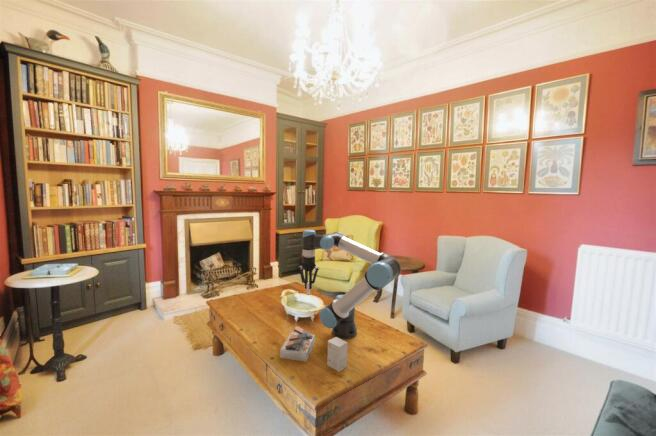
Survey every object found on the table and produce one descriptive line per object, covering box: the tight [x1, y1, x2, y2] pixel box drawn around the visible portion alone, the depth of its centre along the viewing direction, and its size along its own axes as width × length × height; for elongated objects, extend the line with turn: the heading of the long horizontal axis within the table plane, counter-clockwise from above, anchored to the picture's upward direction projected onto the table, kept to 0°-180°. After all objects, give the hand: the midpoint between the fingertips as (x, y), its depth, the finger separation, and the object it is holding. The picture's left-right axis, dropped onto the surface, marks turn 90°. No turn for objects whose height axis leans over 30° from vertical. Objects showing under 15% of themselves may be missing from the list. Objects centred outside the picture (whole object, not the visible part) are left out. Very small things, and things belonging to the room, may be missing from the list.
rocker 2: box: [289, 333, 307, 341], centre depth 159 cm, size 9×4×2 cm, turn 78°
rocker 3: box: [285, 338, 303, 348], centre depth 153 cm, size 9×4×2 cm, turn 78°
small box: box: [326, 336, 349, 373], centre depth 146 cm, size 8×6×13 cm
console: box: [279, 331, 316, 362], centre depth 159 cm, size 14×18×5 cm
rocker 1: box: [293, 325, 312, 338], centre depth 165 cm, size 9×4×2 cm, turn 80°
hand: (308, 294), depth 176 cm, fingers closed
